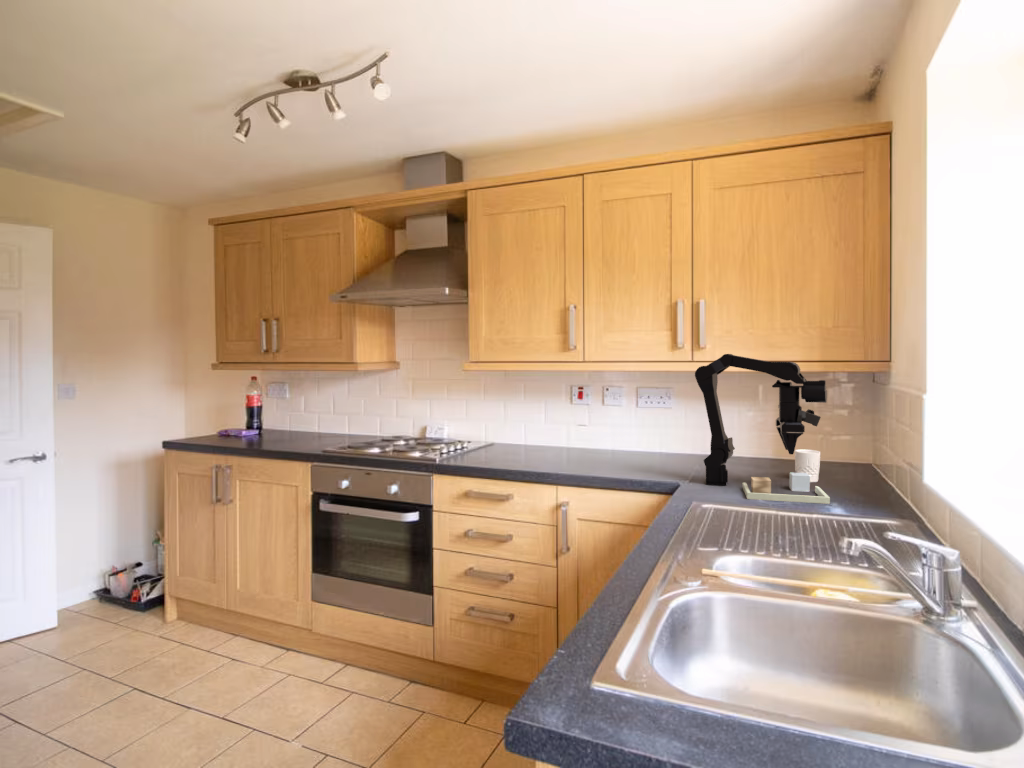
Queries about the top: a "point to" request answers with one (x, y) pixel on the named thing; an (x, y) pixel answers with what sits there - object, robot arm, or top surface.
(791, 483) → the blue block
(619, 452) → the top surface
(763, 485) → the beech block
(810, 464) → the white cup
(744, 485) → the tray
